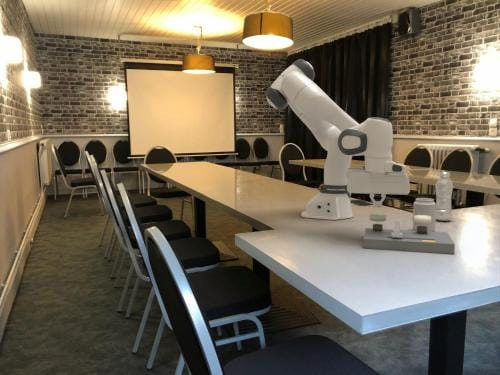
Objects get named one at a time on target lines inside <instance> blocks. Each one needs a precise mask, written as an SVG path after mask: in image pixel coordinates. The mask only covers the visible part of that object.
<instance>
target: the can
mask: <svg viewBox="0 0 500 375" xmlns="http://www.w3.org/2000/svg"><path fill="white" fill-rule="evenodd" d="M434 200H435V199H433V198H428V197H417V198H415V200H414V202H413V209H412V210H413V212H412V230H415V231H417V226H426V227H427V231H434V232H435V229H436V218H435V212H436V202H435V201H434ZM415 215H427V216H431V223H416V222H414V216H415Z"/></svg>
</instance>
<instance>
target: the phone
mask: <svg viewBox="0 0 500 375" xmlns="http://www.w3.org/2000/svg"><path fill="white" fill-rule="evenodd" d="M350 203H351V204H352V203H353V204H352V205H355V206H358V207H371V206H370V205H373V202H370V201H366V200H363V199H350Z"/></svg>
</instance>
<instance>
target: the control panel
mask: <svg viewBox="0 0 500 375" xmlns="http://www.w3.org/2000/svg"><path fill="white" fill-rule="evenodd" d="M383 226H384V225H383V224H381V223H373V224H372V227H365V230H364V234H363V240H362V241H363V242H362V243H363V244H362V245H363V246H362V247H363V249H371V250H372V249H373V250H388V251H403V252H418V253H432V254H433V253H434V254H450V255H455V246H456V244H455V243H454V240H453V239H452V237H451V236H450V234H449V233H448V231H435V230H434V231H427V227H426V226H417V231H415V230H414V229H412V230H410V229H400V233H402V235H403V238H397V237H392V232H395V228H394V229H393V228H391V229H390V228H383Z"/></svg>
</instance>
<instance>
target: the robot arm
mask: <svg viewBox="0 0 500 375" xmlns="http://www.w3.org/2000/svg"><path fill="white" fill-rule="evenodd" d="M315 77H316V73H315V71H314V67H313V66H312V64H311V63H309V62H308V61H306V60H304V59H303V58H299V59H296V60H295V61H294V62H292V64H291V65H289V66H288V67H287V68H285V70H284V71H282V73H280V75H279V76H278V77H277V78H276V79H275V80H274V82H273V83H272V84H271V85H270V86H269V87H268V88H267V89H266V91H265V95H264V96H265V98H266V100H267V103H268V104H269V105H270V106H271V107H273V108H274V109H275V110H280V111H281V110H284V109H286V108H287V107H288V106H289V107H290V109H291V110H292V111H293V112H294V114H295V115H296V117H298V118H299V119H300V121H302V123H303V124H304V125H305V126H306V127H307V129H309V130H310V131H311V133H312V135H313V136H314V138H315V139H316V140H317V142H318V143H319V144H320V146H321V148H323V150H325V151H327V155H326V161H325V164H324V166H323V168H324V169H323V183H321V184H320V185H319V187H318V188H319V189H318V191H319V193H317V194H316V195H315V196H313V197H311V199H310V200H309V201H308V202H307V204H306V208H305V210H304V211H302V212H301V213H300V214H301V217H302V218H306V219H307V218H308V219H319V220H320V219H321V220H330V221H331V220H333V221H335V220H336V221H337V220H338V221H339V220H344V219H350V218H353V217H354V214H353V210H352V203H350V200H351V196H352V194H366V195H368V194H369V198H370V201H372V202H371V203H372V204H373V206H372V207H373V208H382V207H383V202H384V201H385V199H386V195H402V196H403V195H405V196H406V195H409V194H410V192H411V186H410V185H411V184H410V177H409V175H408V173H407V172H406V171H407V166H406V165H405V164H404V163H399V162H397V161H394V160H393V153H392V152H393V151H392V147H393V143H394V133H393V132H394V130H393V124H392V122H391V121H390V120H389V119H388V118H383V117H377V116H376V117H375V116H370V117H368V118H367V119H366V120H364V121H363V122H361V123H360V122H359V121H357V120H356V119H354V118H353V117H352V116H351V115H350V114H349V113H348V112H346V111H345V110H343V109H342V108H341V107H340V106H339V105H338V104H337V103H336V102H335V101H333V100H332V98H330V97H329V95H328V94H327V93H325V91H323V89H322V88H320V86H318V85H317V83H315V82H314V80H315ZM359 156H364V165H358V166H357V165H356V166H355V165H351V163H352V158H353V157H359ZM375 195H381V196H380V197H381V199H380V201H378V200H377V201H376V200H375V199H374V197H375Z"/></svg>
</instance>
